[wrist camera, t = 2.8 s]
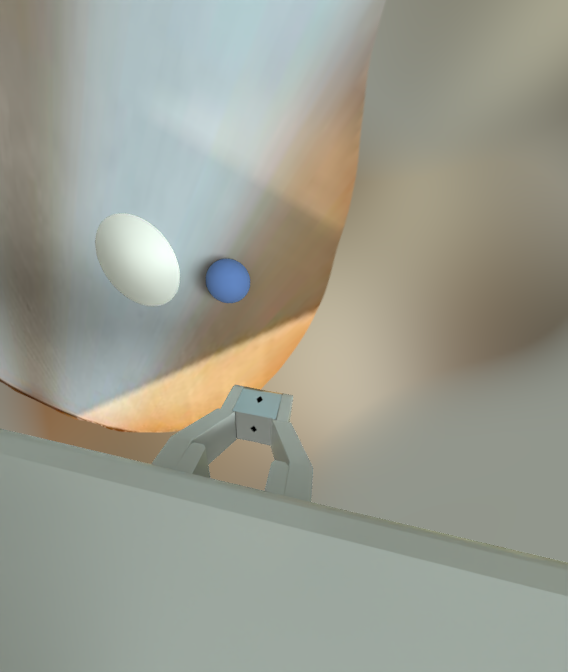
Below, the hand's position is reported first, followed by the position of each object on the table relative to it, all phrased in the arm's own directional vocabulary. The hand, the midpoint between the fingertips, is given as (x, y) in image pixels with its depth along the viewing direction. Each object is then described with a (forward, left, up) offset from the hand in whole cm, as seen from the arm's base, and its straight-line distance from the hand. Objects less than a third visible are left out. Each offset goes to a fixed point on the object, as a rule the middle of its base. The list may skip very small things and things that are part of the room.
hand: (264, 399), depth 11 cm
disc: (-24, 0, -21) cm, 32 cm away
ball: (-9, 0, -18) cm, 21 cm away
